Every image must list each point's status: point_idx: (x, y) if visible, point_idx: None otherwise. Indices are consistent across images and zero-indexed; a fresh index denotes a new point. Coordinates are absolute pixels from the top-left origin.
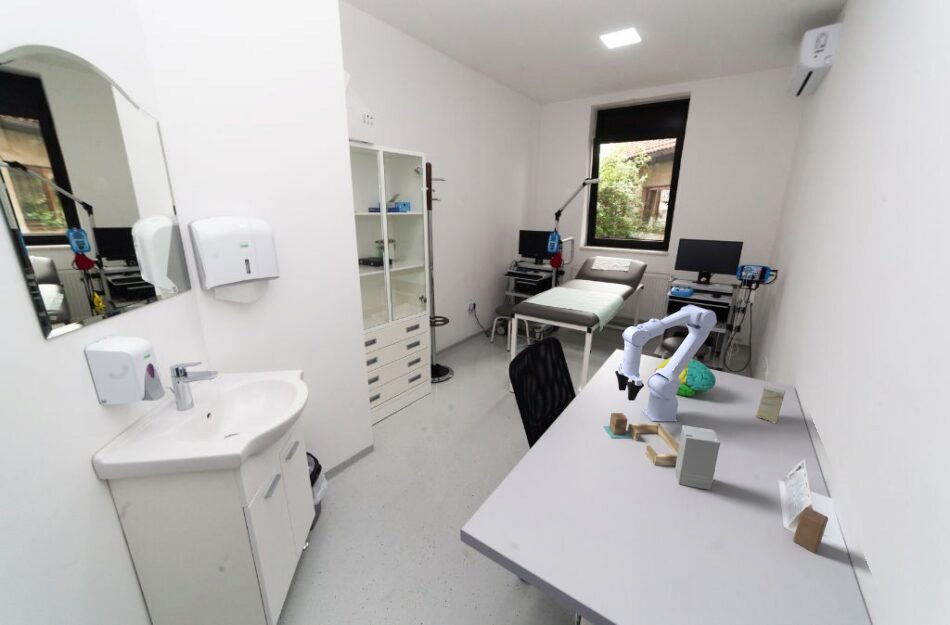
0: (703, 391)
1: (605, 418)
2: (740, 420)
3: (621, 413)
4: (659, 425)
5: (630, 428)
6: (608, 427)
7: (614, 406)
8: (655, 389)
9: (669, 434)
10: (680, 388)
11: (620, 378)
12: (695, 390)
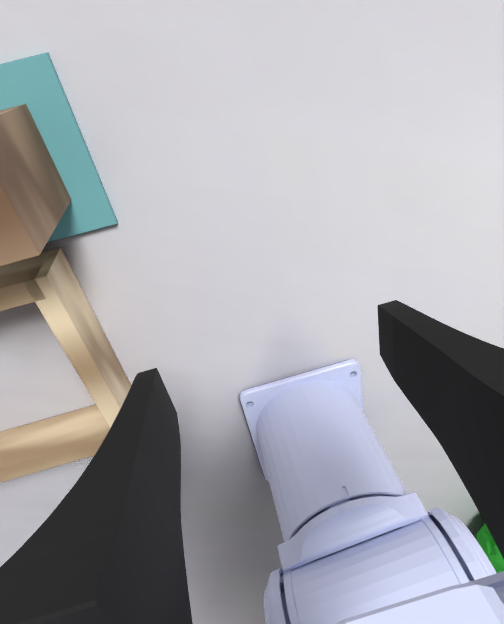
0: None
1: (210, 100)
2: None
3: (27, 246)
4: None
5: (18, 275)
6: (41, 100)
7: (406, 206)
8: (355, 567)
9: (22, 473)
10: None
11: (484, 410)
12: None
